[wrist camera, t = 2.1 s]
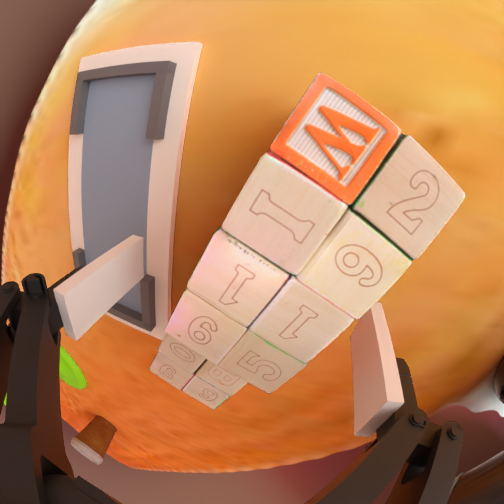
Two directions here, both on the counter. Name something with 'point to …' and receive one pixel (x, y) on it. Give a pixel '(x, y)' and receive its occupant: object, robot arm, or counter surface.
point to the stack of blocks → (305, 247)
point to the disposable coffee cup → (94, 439)
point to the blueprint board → (131, 165)
